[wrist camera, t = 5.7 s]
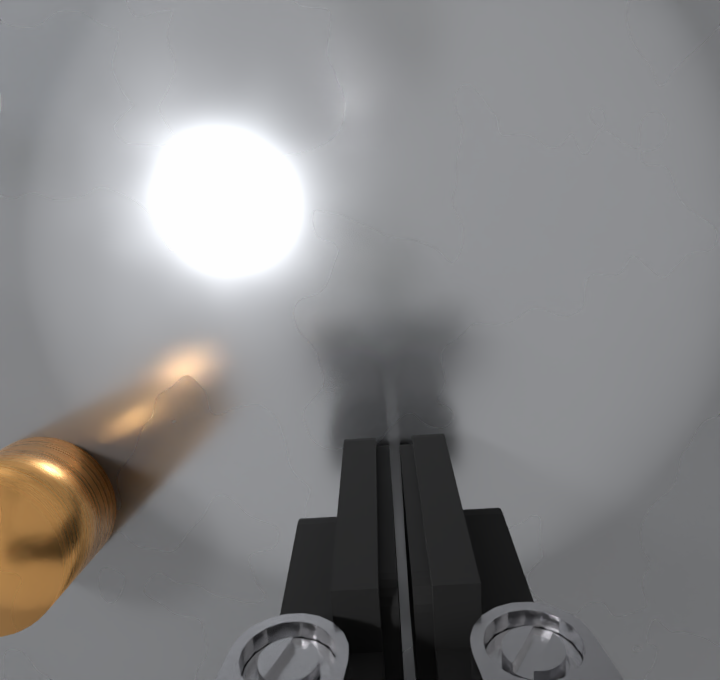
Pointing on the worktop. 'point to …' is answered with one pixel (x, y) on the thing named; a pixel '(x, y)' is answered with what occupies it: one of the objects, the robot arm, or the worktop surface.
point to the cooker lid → (353, 309)
